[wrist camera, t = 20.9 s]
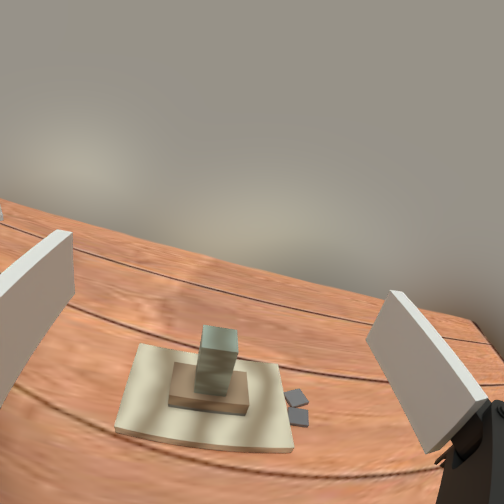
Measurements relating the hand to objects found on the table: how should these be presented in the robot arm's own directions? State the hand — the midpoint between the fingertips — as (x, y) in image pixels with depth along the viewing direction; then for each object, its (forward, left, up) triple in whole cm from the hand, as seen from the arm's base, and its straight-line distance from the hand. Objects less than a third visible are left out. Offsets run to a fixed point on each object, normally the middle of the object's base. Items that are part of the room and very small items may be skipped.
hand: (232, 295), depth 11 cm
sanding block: (+2, +17, -26) cm, 31 cm away
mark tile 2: (+15, +18, -28) cm, 37 cm away
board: (+2, +17, -28) cm, 33 cm away
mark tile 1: (+15, +15, -29) cm, 35 cm away
